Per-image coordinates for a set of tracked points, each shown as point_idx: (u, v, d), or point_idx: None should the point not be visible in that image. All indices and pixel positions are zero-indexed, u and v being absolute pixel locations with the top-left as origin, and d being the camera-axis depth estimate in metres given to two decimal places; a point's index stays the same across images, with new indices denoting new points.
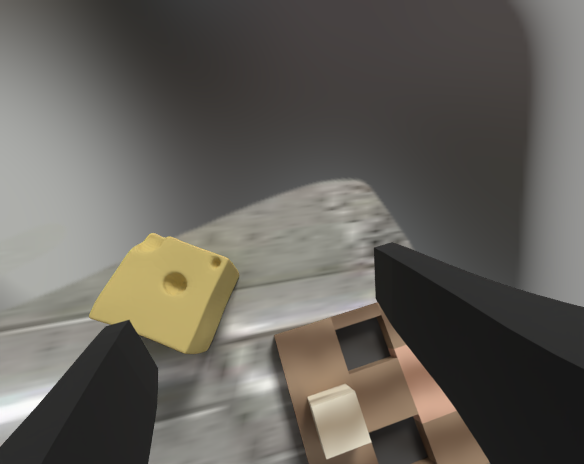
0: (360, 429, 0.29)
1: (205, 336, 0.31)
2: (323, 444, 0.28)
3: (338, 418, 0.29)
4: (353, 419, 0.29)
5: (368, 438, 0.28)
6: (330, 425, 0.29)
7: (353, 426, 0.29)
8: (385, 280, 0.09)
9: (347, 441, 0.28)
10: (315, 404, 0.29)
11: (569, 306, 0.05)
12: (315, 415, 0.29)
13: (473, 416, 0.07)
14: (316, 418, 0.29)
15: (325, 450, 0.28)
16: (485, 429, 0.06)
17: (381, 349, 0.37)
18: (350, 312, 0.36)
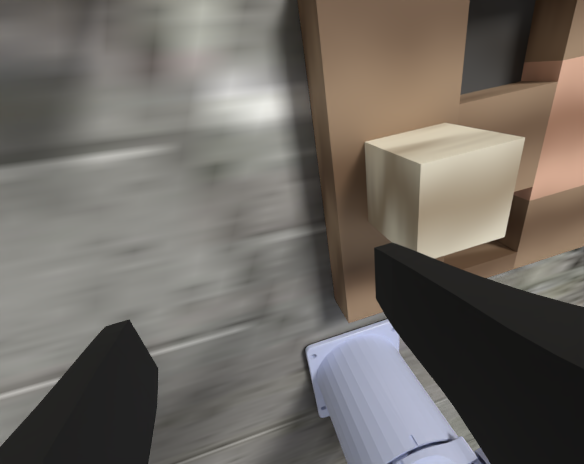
0: (497, 215, 0.13)
1: None
2: (419, 240, 0.13)
3: (467, 193, 0.12)
4: (494, 196, 0.13)
5: (502, 230, 0.14)
6: (445, 205, 0.12)
7: (487, 209, 0.13)
8: (385, 280, 0.09)
9: (466, 235, 0.13)
10: (426, 159, 0.11)
11: (569, 306, 0.05)
12: (422, 184, 0.11)
13: (473, 416, 0.07)
14: (423, 190, 0.12)
15: (420, 250, 0.13)
16: (485, 429, 0.06)
17: (512, 63, 0.17)
18: None
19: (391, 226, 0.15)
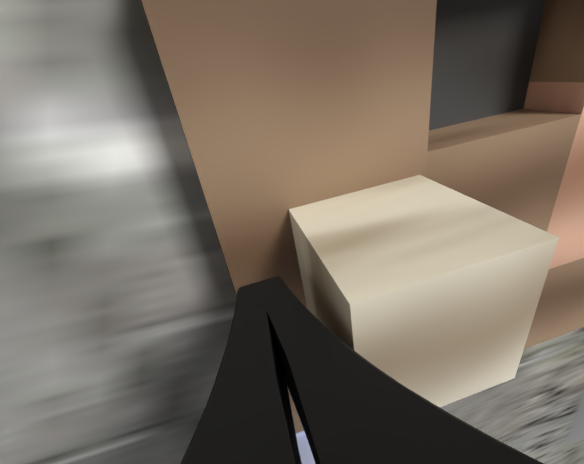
0: (502, 354, 0.07)
1: None
2: None
3: (447, 334, 0.07)
4: (499, 330, 0.07)
5: (511, 371, 0.08)
6: (407, 356, 0.07)
7: (485, 349, 0.07)
8: None
9: (448, 387, 0.08)
10: (364, 287, 0.06)
11: (376, 376, 0.05)
12: (359, 333, 0.06)
13: None
14: (361, 344, 0.06)
15: None
16: None
17: (511, 84, 0.12)
18: None
19: None
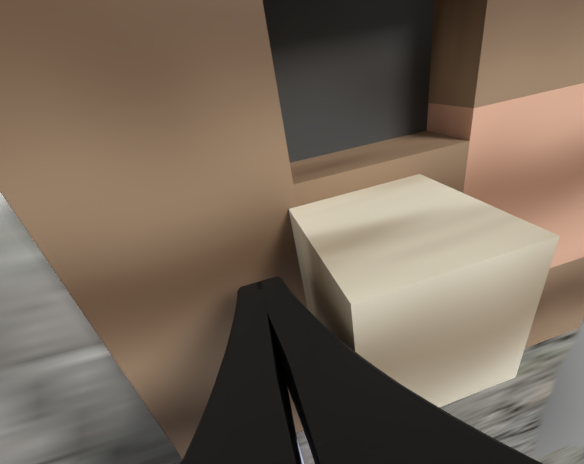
0: (503, 353, 0.07)
1: None
2: None
3: (448, 333, 0.07)
4: (500, 329, 0.07)
5: (512, 370, 0.08)
6: (409, 355, 0.07)
7: (487, 349, 0.07)
8: None
9: (449, 386, 0.08)
10: (365, 286, 0.06)
11: (376, 375, 0.05)
12: (360, 333, 0.06)
13: None
14: (362, 343, 0.06)
15: None
16: None
17: (408, 105, 0.11)
18: None
19: None
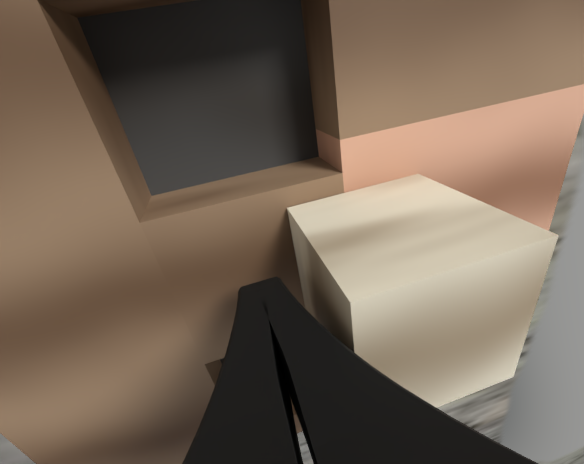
0: (501, 353, 0.07)
1: None
2: None
3: (447, 332, 0.06)
4: (498, 329, 0.07)
5: (510, 369, 0.08)
6: (408, 355, 0.06)
7: (485, 348, 0.07)
8: None
9: (447, 386, 0.08)
10: (364, 285, 0.06)
11: (374, 376, 0.05)
12: (359, 332, 0.06)
13: None
14: (361, 342, 0.06)
15: None
16: None
17: (293, 131, 0.10)
18: None
19: None
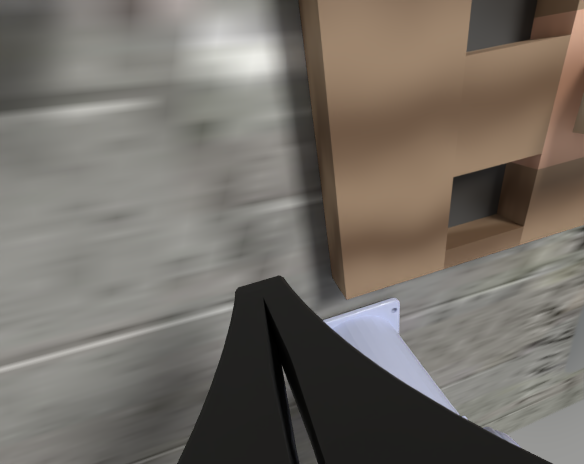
0: None
1: None
2: None
3: None
4: None
5: None
6: None
7: None
8: None
9: None
10: None
11: (379, 374, 0.05)
12: None
13: None
14: None
15: None
16: None
17: (521, 19, 0.16)
18: None
19: None
